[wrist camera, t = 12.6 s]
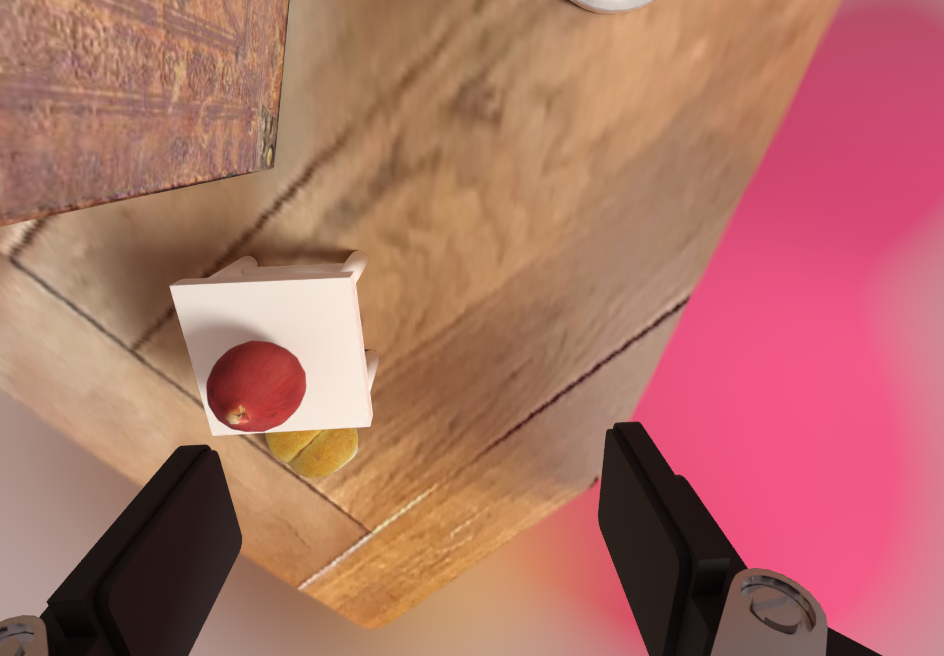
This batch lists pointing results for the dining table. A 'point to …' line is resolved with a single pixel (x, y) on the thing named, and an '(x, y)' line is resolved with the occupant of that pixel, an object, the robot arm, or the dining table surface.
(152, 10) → the book
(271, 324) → the stool
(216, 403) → the onion
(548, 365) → the dining table surface
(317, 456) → the bread roll
